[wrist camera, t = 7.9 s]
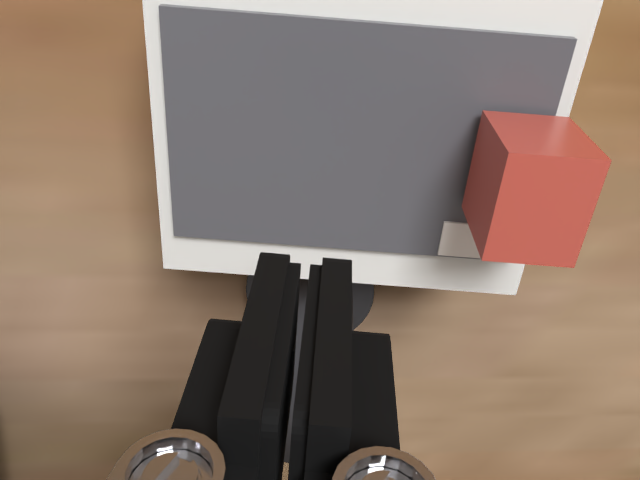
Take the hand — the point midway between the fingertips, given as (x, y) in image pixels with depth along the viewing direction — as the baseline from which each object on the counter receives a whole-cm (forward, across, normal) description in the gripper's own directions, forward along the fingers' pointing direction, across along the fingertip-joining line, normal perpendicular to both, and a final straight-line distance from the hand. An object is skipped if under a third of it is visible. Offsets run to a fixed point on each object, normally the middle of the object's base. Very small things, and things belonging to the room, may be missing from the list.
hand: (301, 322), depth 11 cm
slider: (+7, -6, -1) cm, 9 cm away
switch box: (+15, -1, -1) cm, 15 cm away
